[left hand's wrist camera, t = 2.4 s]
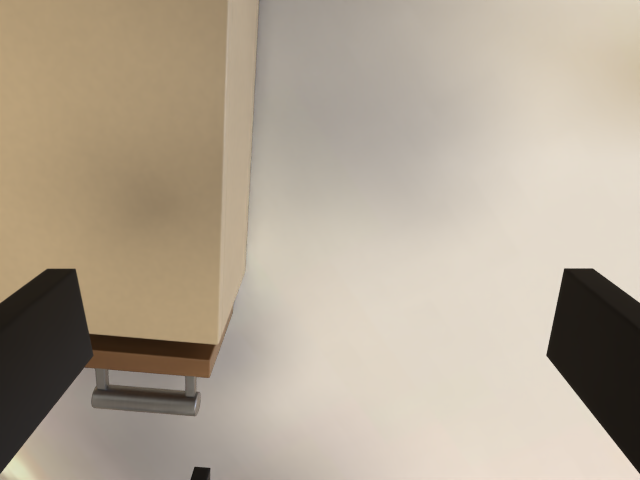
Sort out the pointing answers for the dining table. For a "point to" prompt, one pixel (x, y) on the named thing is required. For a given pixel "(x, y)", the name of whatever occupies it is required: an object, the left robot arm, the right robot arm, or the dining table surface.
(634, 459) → the left robot arm
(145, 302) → the tan cardboard box
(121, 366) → the drawer
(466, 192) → the dining table surface
